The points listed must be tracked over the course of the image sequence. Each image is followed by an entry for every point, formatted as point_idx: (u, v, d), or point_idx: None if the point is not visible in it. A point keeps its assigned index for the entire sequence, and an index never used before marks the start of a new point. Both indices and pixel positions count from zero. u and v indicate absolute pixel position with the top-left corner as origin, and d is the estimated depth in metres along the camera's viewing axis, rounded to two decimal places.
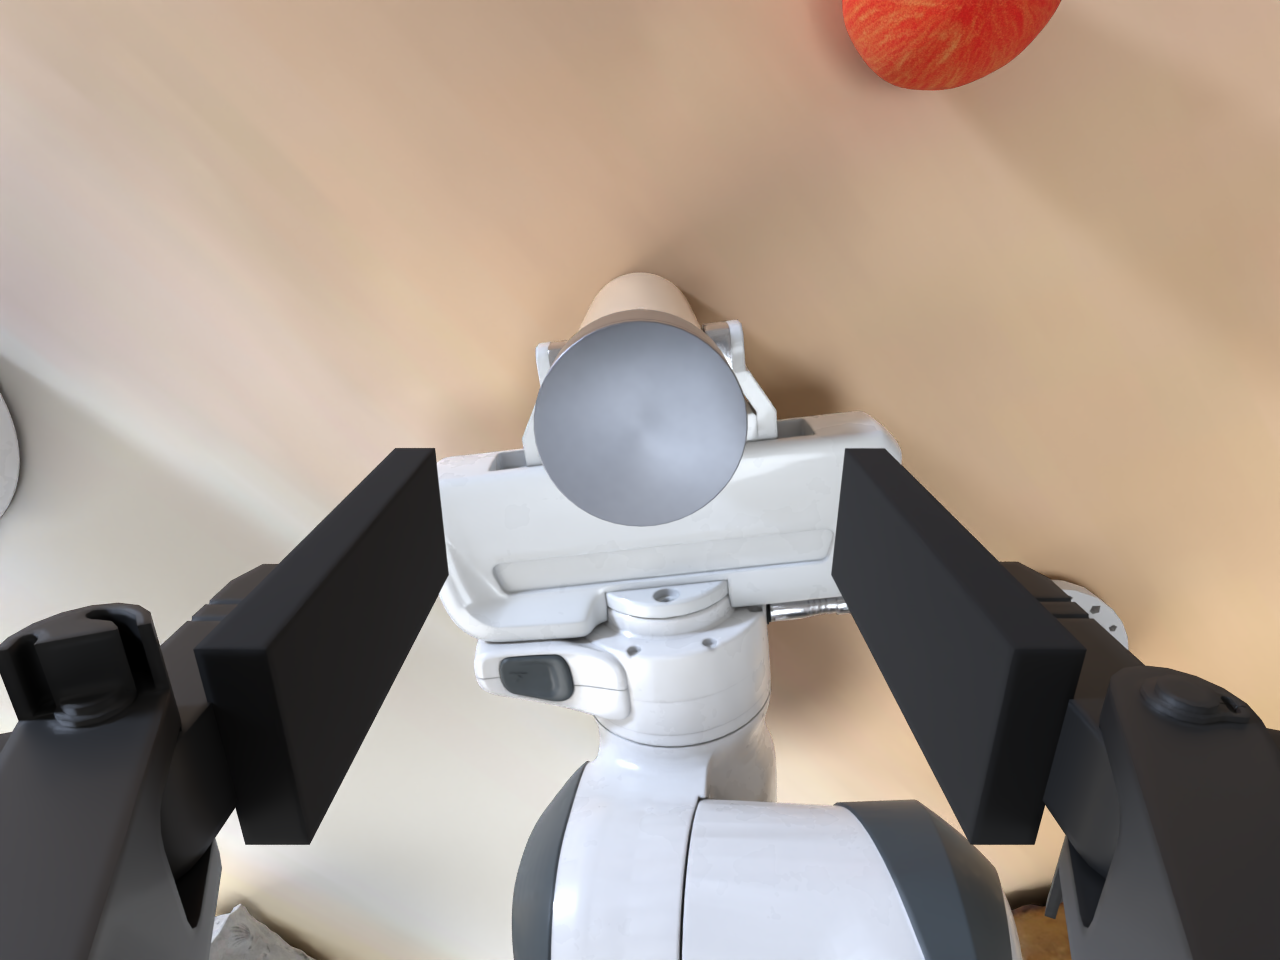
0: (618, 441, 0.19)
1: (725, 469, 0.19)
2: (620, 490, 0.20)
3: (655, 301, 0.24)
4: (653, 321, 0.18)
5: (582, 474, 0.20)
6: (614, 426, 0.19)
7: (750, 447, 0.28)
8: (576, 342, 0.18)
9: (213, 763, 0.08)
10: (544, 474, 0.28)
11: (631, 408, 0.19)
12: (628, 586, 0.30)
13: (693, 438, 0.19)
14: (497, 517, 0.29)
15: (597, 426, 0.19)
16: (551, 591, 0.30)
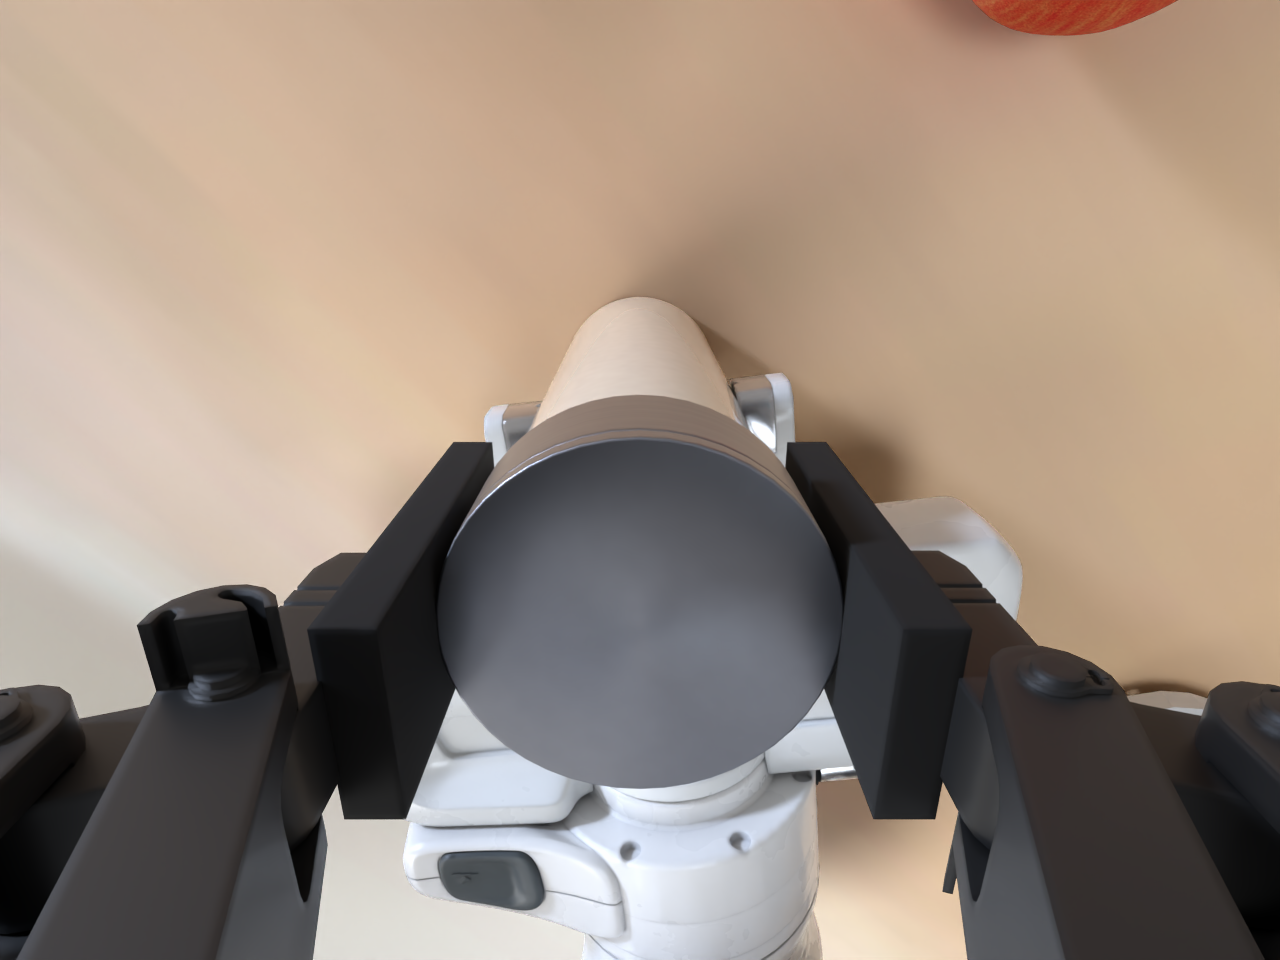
0: (598, 652, 0.10)
1: (798, 698, 0.10)
2: (602, 732, 0.11)
3: (663, 359, 0.15)
4: (665, 437, 0.09)
5: (531, 706, 0.10)
6: (590, 626, 0.10)
7: None
8: (512, 477, 0.09)
9: (322, 739, 0.08)
10: None
11: (622, 595, 0.10)
12: None
13: (739, 647, 0.10)
14: None
15: (558, 626, 0.10)
16: (512, 755, 0.21)
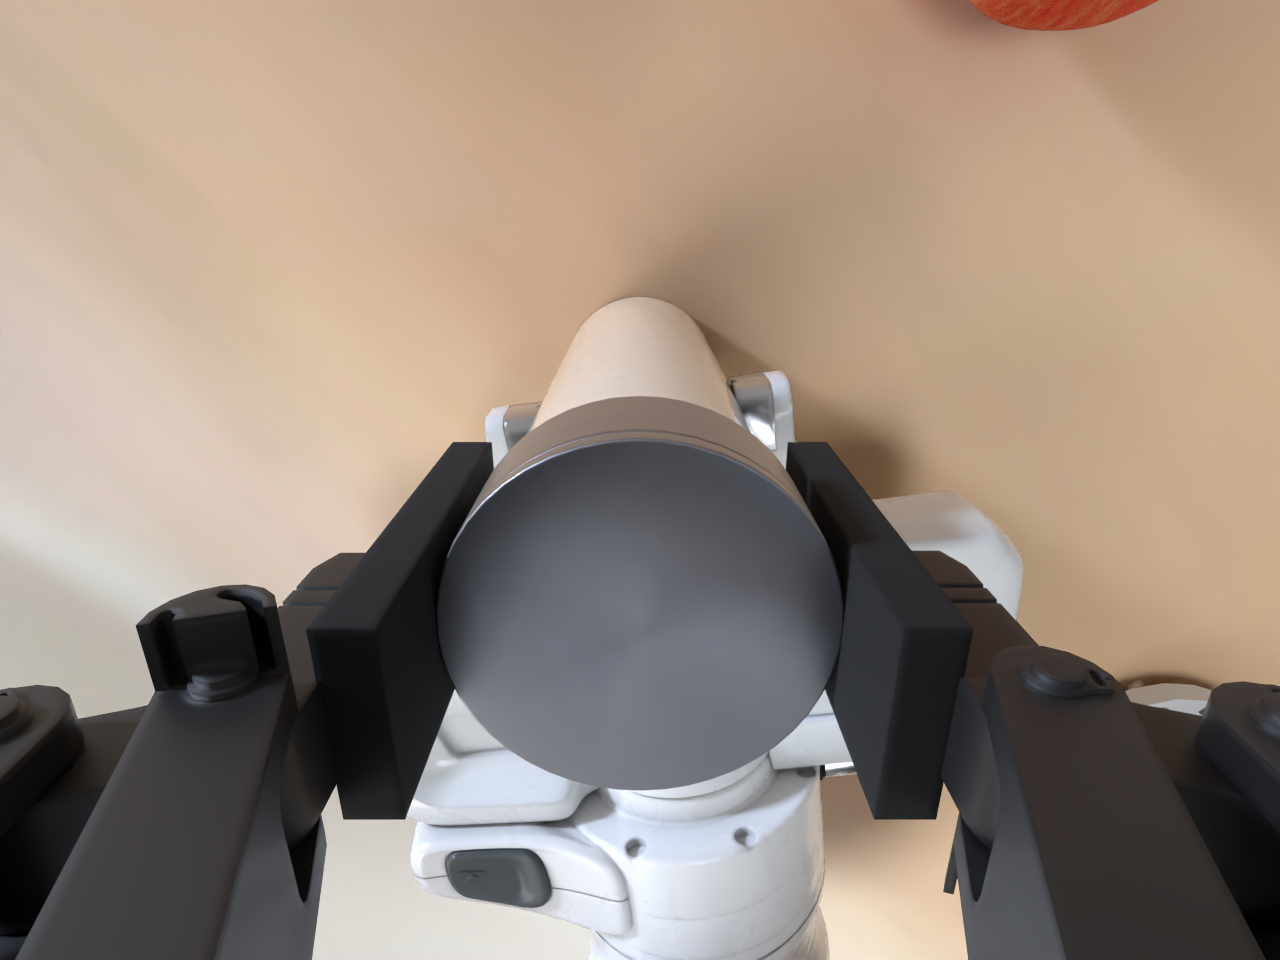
0: (686, 644, 0.10)
1: (572, 471, 0.09)
2: (759, 579, 0.10)
3: (662, 358, 0.15)
4: (492, 732, 0.11)
5: (783, 645, 0.10)
6: (670, 666, 0.10)
7: None
8: (610, 787, 0.11)
9: (321, 739, 0.08)
10: None
11: (623, 668, 0.10)
12: None
13: (579, 559, 0.10)
14: None
15: (691, 684, 0.10)
16: None
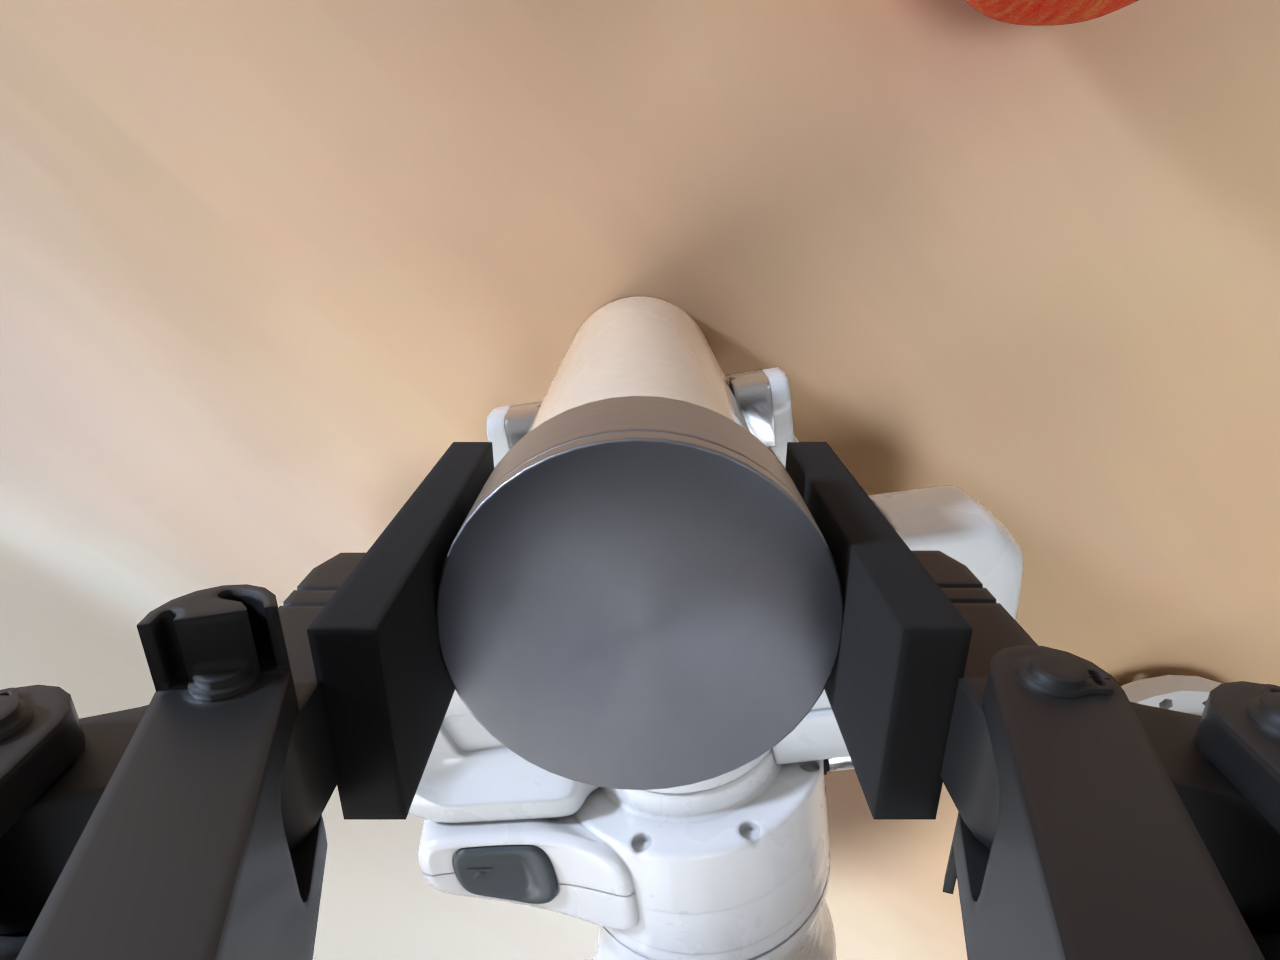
0: (614, 596, 0.10)
1: (567, 764, 0.11)
2: (511, 600, 0.10)
3: (660, 356, 0.15)
4: (838, 646, 0.10)
5: (540, 531, 0.09)
6: (645, 589, 0.10)
7: None
8: (813, 523, 0.09)
9: (322, 739, 0.08)
10: None
11: (681, 617, 0.10)
12: None
13: (623, 714, 0.11)
14: None
15: (644, 560, 0.10)
16: None
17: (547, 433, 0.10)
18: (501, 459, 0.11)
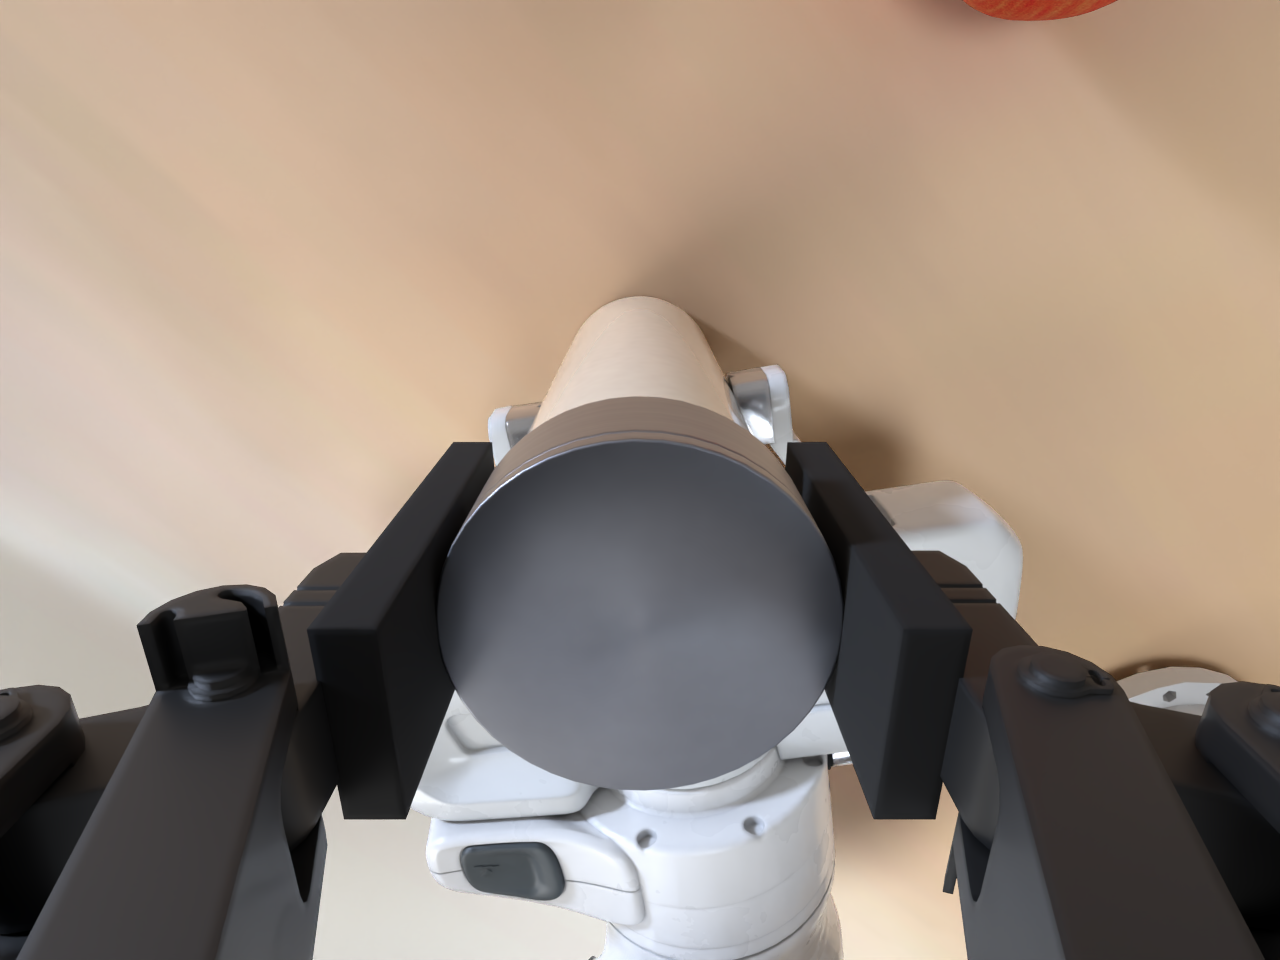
0: (627, 673, 0.10)
1: (817, 577, 0.10)
2: (699, 726, 0.11)
3: (658, 355, 0.15)
4: (499, 486, 0.09)
5: (628, 748, 0.11)
6: (601, 660, 0.10)
7: None
8: (436, 607, 0.10)
9: (322, 739, 0.08)
10: None
11: (597, 619, 0.10)
12: None
13: (724, 580, 0.10)
14: None
15: (581, 678, 0.10)
16: None
17: None
18: None
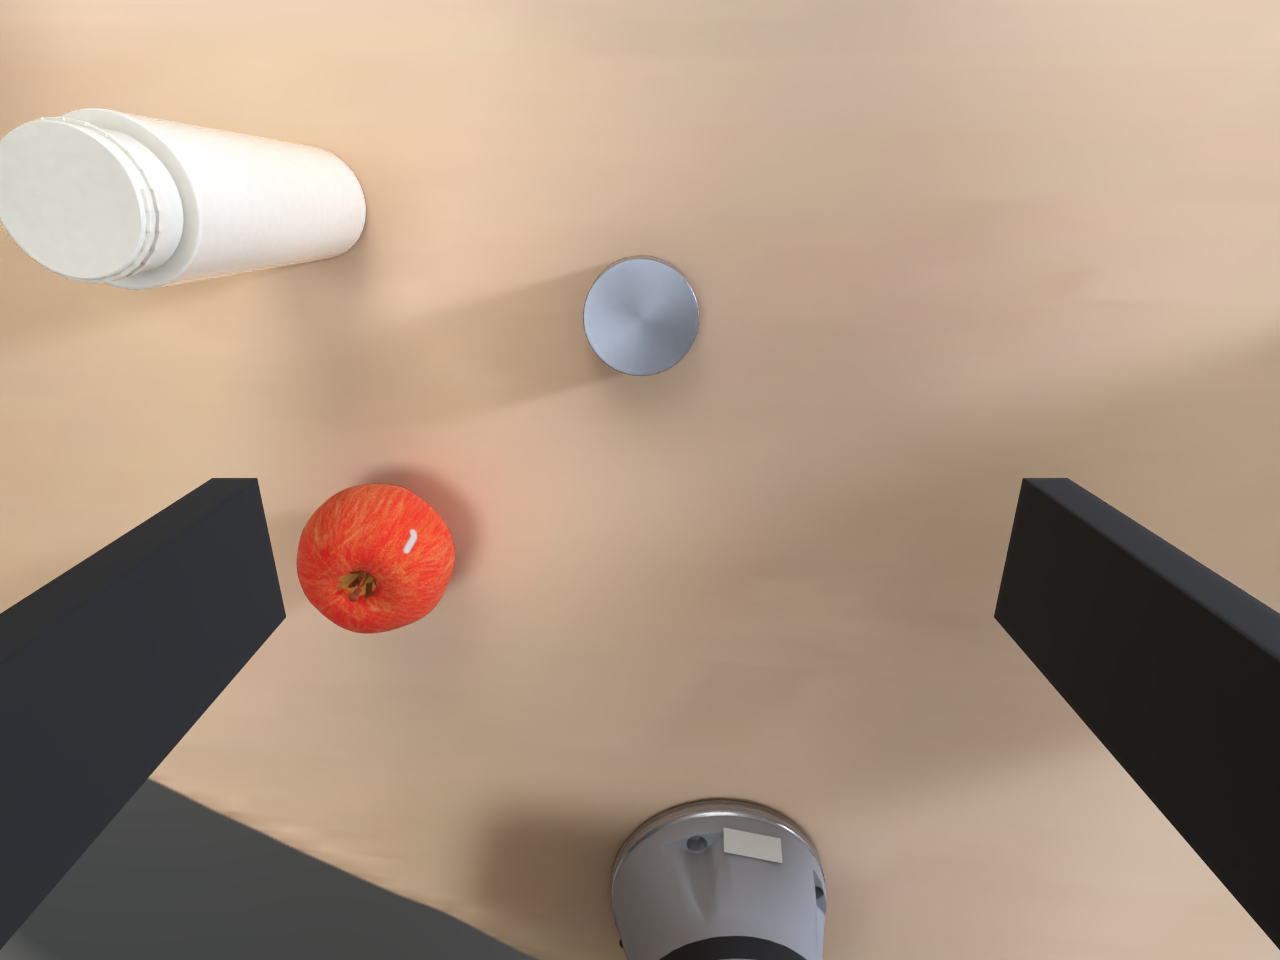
0: (637, 332, 0.36)
1: (690, 300, 0.35)
2: (658, 351, 0.36)
3: (242, 264, 0.26)
4: (603, 272, 0.35)
5: (637, 359, 0.36)
6: (630, 328, 0.36)
7: None
8: (584, 310, 0.35)
9: None
10: None
11: (629, 314, 0.35)
12: None
13: (664, 301, 0.35)
14: None
15: (624, 334, 0.36)
16: None
17: None
18: None
